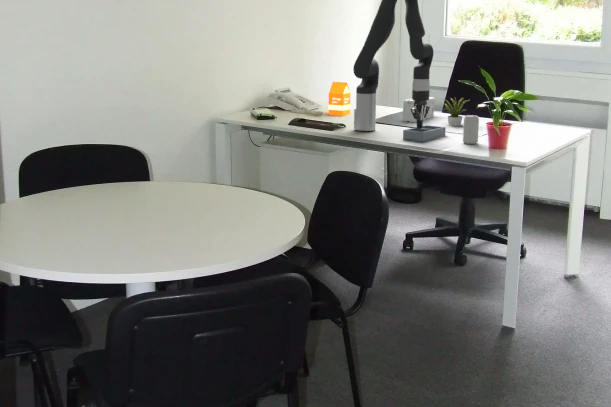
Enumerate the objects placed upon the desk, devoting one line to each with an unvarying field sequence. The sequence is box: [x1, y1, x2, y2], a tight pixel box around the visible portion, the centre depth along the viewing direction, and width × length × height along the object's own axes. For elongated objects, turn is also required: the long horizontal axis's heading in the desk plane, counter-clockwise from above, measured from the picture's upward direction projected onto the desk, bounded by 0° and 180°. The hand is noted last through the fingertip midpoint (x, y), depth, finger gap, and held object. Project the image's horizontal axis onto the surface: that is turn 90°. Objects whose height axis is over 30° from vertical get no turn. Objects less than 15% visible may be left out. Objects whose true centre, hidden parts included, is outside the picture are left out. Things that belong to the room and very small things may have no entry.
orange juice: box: [327, 81, 351, 117], centre depth 413 cm, size 8×9×20 cm
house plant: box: [443, 96, 469, 127], centre depth 385 cm, size 14×14×16 cm
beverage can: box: [462, 114, 480, 145], centre depth 346 cm, size 6×6×12 cm
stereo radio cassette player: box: [402, 96, 437, 123], centre depth 401 cm, size 21×8×20 cm, turn 144°
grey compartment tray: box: [402, 124, 447, 143], centre depth 358 cm, size 20×10×4 cm, turn 142°
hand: (419, 128), depth 354 cm, fingers closed
